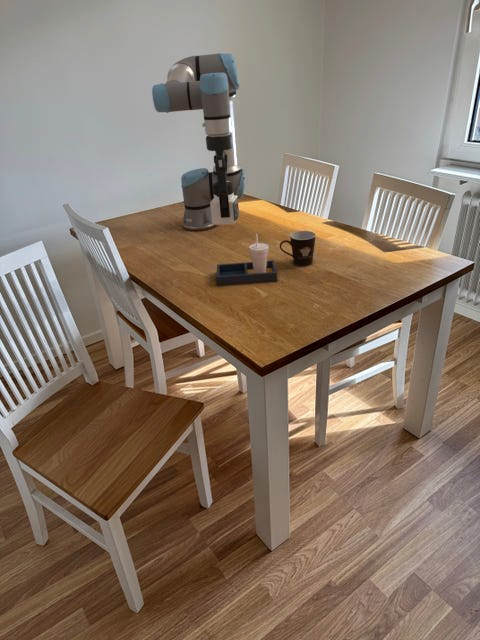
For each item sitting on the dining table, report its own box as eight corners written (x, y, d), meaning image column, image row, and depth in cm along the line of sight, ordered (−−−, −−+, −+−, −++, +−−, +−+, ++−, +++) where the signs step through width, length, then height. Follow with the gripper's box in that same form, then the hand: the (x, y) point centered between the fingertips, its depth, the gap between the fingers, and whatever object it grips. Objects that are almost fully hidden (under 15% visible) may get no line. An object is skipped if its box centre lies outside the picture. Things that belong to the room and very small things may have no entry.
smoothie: (249, 270, 154) (247, 231, 146) (268, 268, 154) (266, 229, 147) (251, 278, 148) (249, 238, 141) (271, 276, 148) (269, 236, 141)
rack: (217, 272, 156) (217, 264, 154) (274, 268, 156) (273, 260, 154) (217, 285, 147) (216, 277, 146) (276, 281, 147) (276, 272, 145)
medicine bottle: (234, 224, 138) (231, 185, 132) (212, 225, 140) (208, 185, 134) (239, 217, 144) (236, 179, 138) (217, 217, 146) (214, 179, 140)
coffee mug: (317, 258, 160) (318, 231, 155) (312, 268, 153) (313, 240, 148) (285, 256, 164) (284, 229, 159) (279, 266, 157) (278, 238, 152)
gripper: (207, 130, 138) (214, 204, 150) (203, 141, 120) (212, 224, 132) (231, 128, 138) (237, 202, 150) (231, 139, 120) (238, 222, 132)
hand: (225, 212), depth 141 cm, fingers closed on medicine bottle, 8 cm apart
